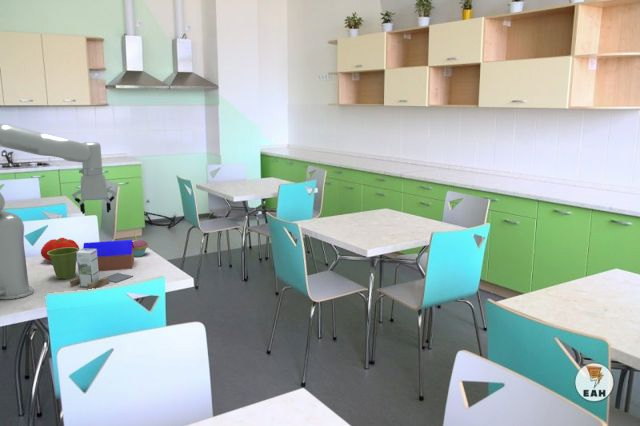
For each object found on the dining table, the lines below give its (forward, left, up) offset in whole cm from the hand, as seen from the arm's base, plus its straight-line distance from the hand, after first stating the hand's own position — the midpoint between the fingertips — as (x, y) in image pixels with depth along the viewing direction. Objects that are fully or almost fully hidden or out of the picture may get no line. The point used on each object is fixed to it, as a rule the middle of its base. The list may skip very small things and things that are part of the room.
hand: (96, 212), depth 230 cm
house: (+8, +3, -27) cm, 28 cm away
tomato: (+5, +31, -26) cm, 41 cm away
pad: (-3, -13, -26) cm, 29 cm away
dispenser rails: (-14, -10, -26) cm, 31 cm away
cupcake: (+27, +5, -26) cm, 38 cm away
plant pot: (-11, +8, -26) cm, 30 cm away
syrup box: (-14, -10, -26) cm, 31 cm away
